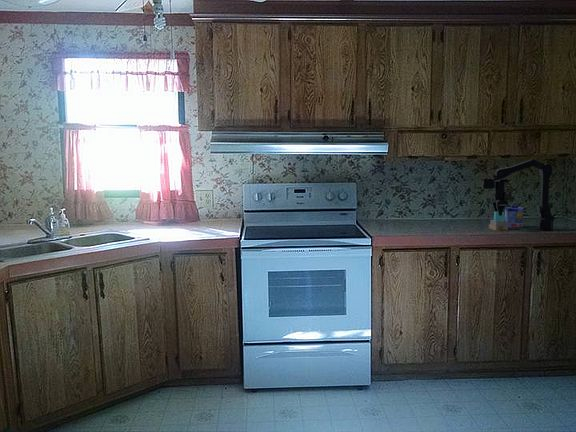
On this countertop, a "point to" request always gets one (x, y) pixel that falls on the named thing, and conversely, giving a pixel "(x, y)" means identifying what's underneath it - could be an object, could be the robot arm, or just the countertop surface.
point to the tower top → (498, 223)
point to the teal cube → (497, 217)
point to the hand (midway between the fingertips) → (498, 214)
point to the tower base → (498, 227)
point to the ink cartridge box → (514, 216)
